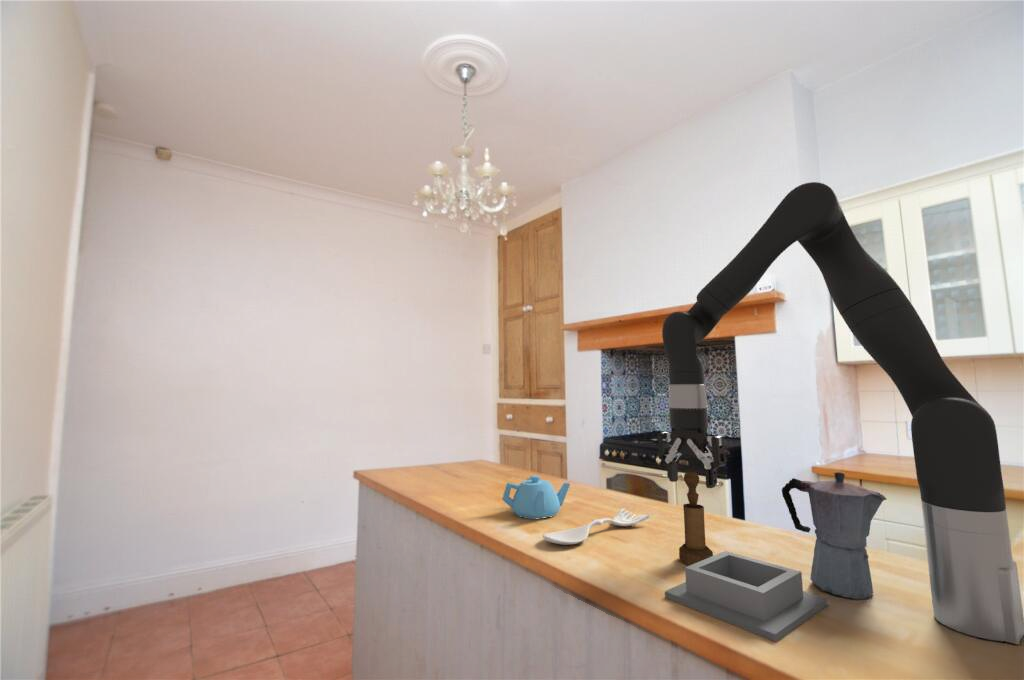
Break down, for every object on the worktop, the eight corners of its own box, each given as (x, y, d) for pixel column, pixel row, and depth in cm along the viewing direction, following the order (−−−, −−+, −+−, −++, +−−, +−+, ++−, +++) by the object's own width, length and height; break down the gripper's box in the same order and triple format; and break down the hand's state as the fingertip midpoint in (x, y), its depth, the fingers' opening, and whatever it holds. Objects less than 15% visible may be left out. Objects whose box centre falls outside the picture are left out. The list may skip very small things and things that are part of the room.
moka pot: (900, 610, 73) (888, 481, 75) (786, 589, 82) (778, 473, 83) (891, 586, 81) (880, 470, 83) (788, 569, 90) (781, 463, 91)
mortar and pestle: (716, 568, 91) (711, 474, 93) (682, 566, 93) (677, 474, 95) (709, 556, 98) (704, 469, 100) (677, 555, 99) (672, 468, 101)
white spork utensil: (651, 526, 121) (650, 512, 121) (561, 554, 102) (560, 537, 102) (624, 519, 128) (623, 506, 128) (535, 544, 109) (534, 528, 109)
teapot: (530, 505, 145) (529, 469, 146) (572, 512, 136) (571, 474, 137) (499, 515, 133) (498, 477, 135) (542, 524, 124) (541, 482, 125)
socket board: (827, 604, 75) (824, 572, 76) (775, 641, 65) (773, 603, 65) (721, 571, 90) (719, 544, 90) (665, 597, 79) (663, 566, 80)
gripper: (729, 406, 95) (734, 487, 93) (669, 404, 107) (672, 477, 105) (709, 407, 91) (713, 492, 89) (648, 405, 102) (651, 481, 100)
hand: (691, 484), depth 97 cm, fingers open, 8 cm apart
